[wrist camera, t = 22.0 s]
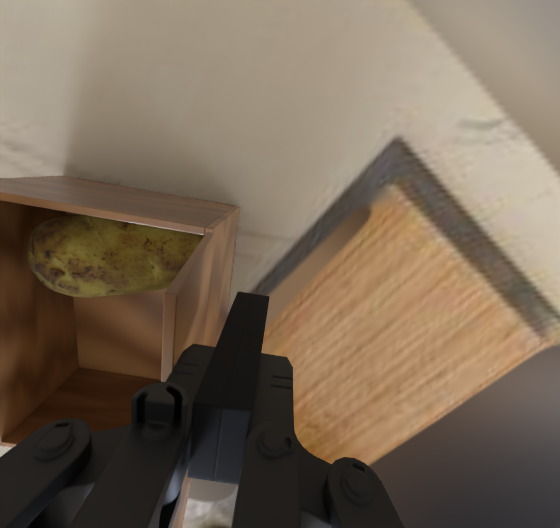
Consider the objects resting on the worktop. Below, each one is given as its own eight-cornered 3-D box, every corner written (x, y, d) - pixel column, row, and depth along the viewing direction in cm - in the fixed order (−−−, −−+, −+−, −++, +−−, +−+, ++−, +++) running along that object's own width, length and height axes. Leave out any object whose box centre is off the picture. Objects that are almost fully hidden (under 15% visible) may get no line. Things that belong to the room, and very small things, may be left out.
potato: (210, 302, 28) (181, 352, 21) (81, 260, 27) (1, 297, 20) (233, 224, 25) (210, 249, 18) (91, 175, 24) (3, 179, 17)
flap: (163, 293, 8) (177, 294, 9) (207, 231, 16) (214, 232, 16) (151, 636, 15) (159, 636, 15) (185, 482, 23) (191, 482, 23)
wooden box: (51, 173, 25) (-400, 188, 9) (240, 206, 25) (152, 279, 9) (70, 365, 32) (-162, 576, 15) (218, 388, 32) (145, 617, 16)
